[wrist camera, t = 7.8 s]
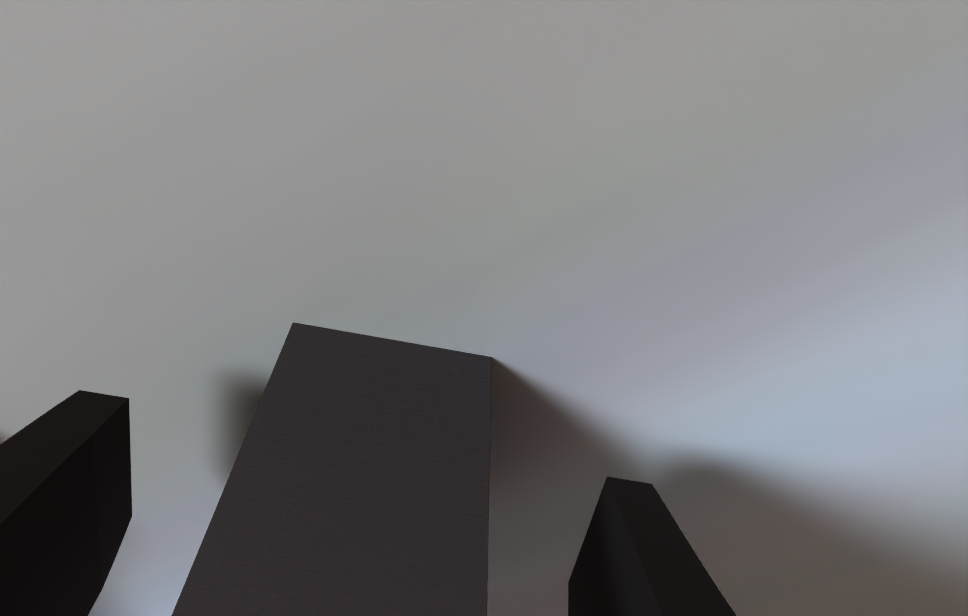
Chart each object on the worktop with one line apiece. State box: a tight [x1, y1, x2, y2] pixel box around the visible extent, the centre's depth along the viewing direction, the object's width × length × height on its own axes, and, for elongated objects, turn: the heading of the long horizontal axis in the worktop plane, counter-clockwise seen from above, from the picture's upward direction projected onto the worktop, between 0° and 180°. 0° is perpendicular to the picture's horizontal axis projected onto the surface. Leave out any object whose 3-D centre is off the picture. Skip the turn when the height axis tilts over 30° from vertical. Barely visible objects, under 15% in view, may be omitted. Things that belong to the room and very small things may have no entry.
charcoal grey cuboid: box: [172, 323, 491, 616], centre depth 9 cm, size 3×3×7 cm
